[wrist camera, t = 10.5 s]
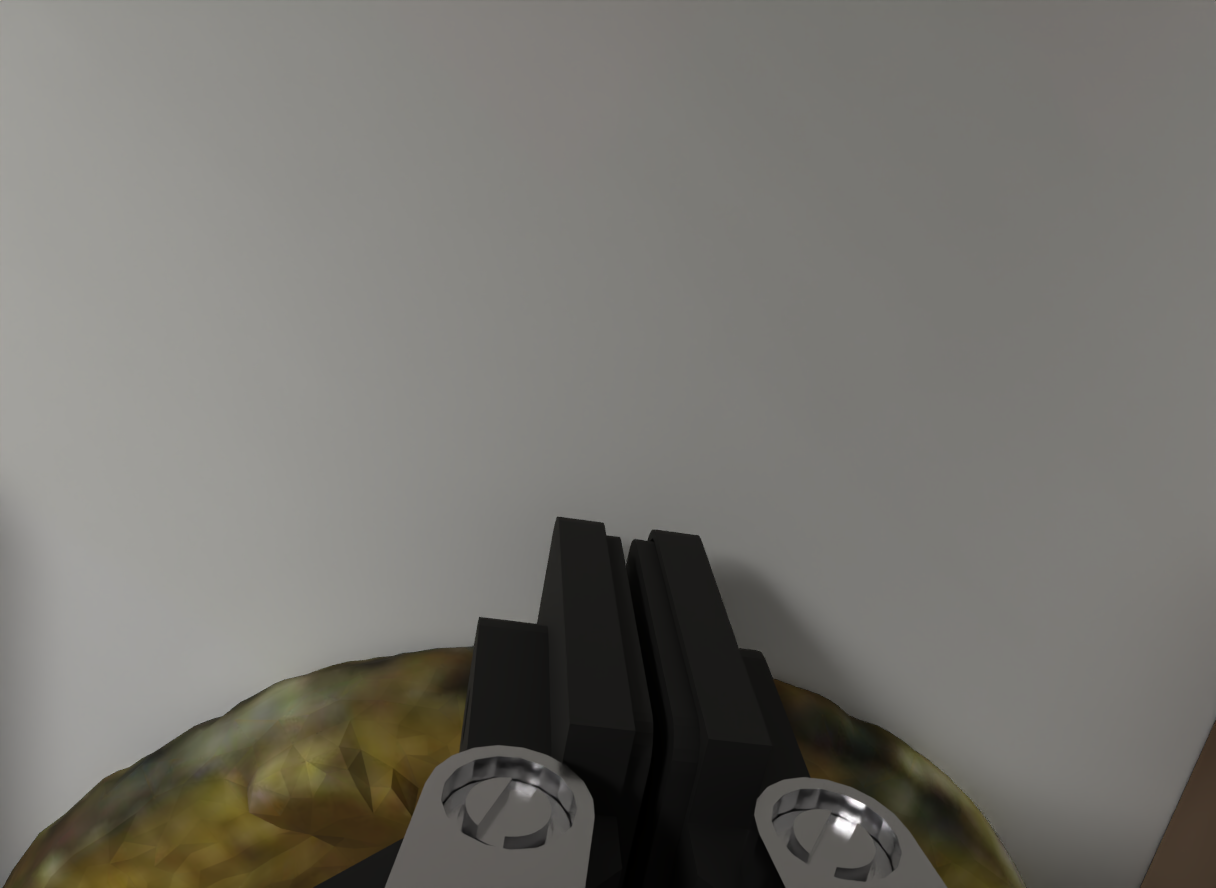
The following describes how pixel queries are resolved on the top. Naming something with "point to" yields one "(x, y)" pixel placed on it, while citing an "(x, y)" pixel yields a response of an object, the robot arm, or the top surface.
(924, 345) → the top surface
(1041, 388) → the top surface
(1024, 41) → the top surface
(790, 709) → the mottled yellow-brown oval piece
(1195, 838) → the wooden step block
